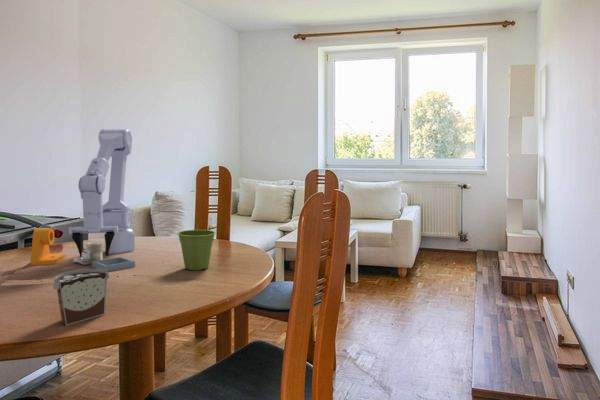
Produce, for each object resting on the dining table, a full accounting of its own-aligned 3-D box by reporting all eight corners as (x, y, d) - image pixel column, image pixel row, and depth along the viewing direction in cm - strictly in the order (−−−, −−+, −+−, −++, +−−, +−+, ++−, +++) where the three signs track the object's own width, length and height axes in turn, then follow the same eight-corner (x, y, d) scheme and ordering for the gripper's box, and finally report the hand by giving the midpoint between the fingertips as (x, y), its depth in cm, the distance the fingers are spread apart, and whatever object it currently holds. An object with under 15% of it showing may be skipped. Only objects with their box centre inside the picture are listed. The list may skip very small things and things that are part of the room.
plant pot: (183, 274, 156) (182, 236, 154) (173, 266, 166) (172, 231, 165) (221, 269, 161) (221, 233, 160) (209, 262, 171) (209, 228, 170)
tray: (121, 266, 166) (120, 256, 166) (135, 270, 160) (134, 261, 160) (92, 270, 160) (92, 261, 160) (106, 275, 154) (105, 265, 153)
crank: (71, 261, 166) (70, 246, 166) (81, 260, 168) (80, 245, 168) (83, 266, 160) (83, 250, 159) (93, 264, 162) (92, 249, 161)
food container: (94, 308, 122) (92, 265, 121) (110, 312, 119) (109, 269, 118) (43, 322, 112) (40, 276, 111) (59, 327, 109) (57, 280, 108)
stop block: (86, 263, 165) (86, 244, 164) (89, 260, 169) (89, 242, 168) (100, 263, 165) (99, 244, 165) (102, 260, 169) (102, 241, 169)
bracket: (55, 268, 164) (53, 230, 163) (31, 269, 163) (29, 231, 162) (66, 261, 174) (65, 225, 173) (43, 261, 174) (42, 226, 172)
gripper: (65, 215, 160) (67, 259, 162) (114, 214, 163) (116, 257, 164) (71, 212, 167) (72, 254, 169) (118, 211, 170) (120, 253, 171)
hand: (94, 255), depth 167 cm, fingers open, 7 cm apart
